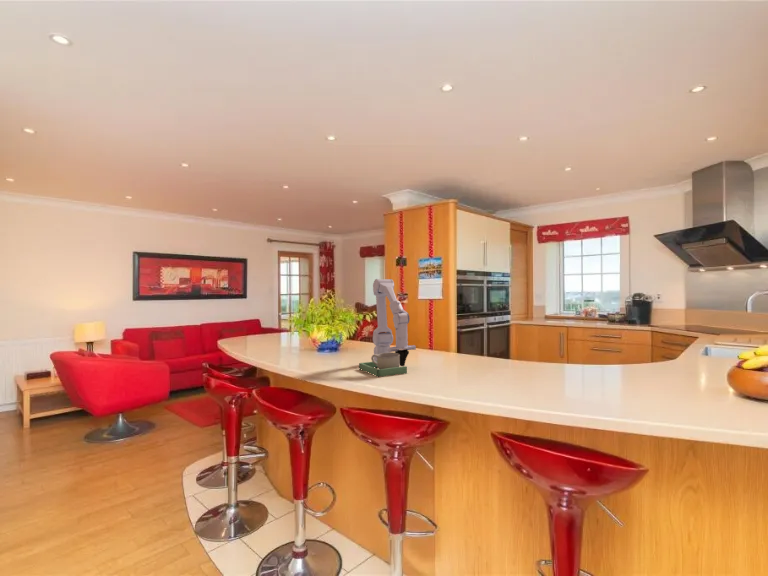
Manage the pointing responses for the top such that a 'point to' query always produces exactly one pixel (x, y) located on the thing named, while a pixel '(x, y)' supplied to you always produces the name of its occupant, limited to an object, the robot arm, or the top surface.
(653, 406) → the top surface
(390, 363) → the teacup
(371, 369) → the green bay
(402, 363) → the robot arm
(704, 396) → the top surface
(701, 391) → the top surface
